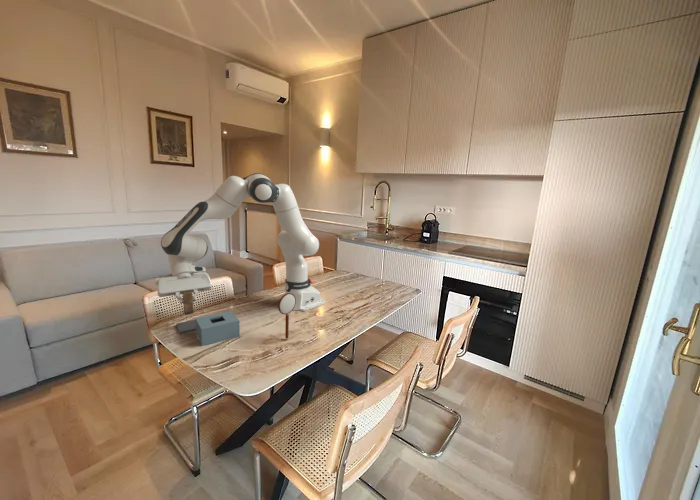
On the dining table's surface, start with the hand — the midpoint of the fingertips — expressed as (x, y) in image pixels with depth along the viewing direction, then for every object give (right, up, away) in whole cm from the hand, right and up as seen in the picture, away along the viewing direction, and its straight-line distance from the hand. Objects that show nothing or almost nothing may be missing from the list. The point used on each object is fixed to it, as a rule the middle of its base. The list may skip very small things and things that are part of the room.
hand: (188, 301), depth 123 cm
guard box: (+13, -13, -2) cm, 19 cm away
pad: (-1, -11, +3) cm, 12 cm away
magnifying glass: (+42, -15, -2) cm, 44 cm away
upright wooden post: (-1, -5, +2) cm, 5 cm away
